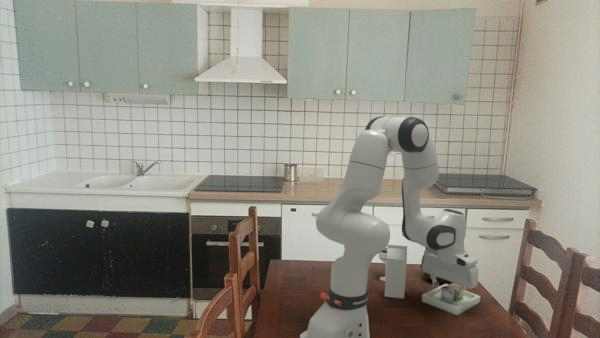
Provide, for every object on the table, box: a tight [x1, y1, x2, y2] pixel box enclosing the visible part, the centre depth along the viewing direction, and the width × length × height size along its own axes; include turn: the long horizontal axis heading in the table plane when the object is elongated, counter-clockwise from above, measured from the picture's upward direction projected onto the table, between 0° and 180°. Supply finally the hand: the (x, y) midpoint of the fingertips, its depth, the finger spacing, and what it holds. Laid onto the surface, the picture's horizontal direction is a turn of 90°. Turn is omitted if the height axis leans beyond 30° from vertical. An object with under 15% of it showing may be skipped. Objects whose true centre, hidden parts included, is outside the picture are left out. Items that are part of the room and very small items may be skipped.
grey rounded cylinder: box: [440, 286, 454, 305], centre depth 156 cm, size 4×4×5 cm
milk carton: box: [384, 244, 408, 299], centre depth 163 cm, size 7×7×19 cm
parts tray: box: [421, 283, 481, 316], centre depth 159 cm, size 16×14×2 cm
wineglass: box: [378, 247, 387, 282], centre depth 178 cm, size 7×7×12 cm
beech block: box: [447, 282, 464, 302], centre depth 160 cm, size 4×4×4 cm
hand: (447, 291), depth 156 cm, fingers open, 8 cm apart
